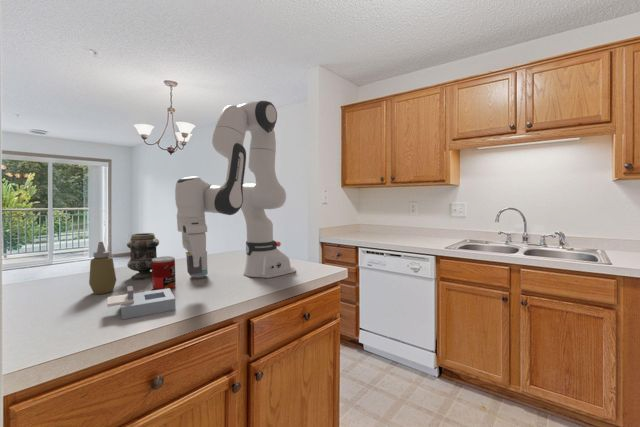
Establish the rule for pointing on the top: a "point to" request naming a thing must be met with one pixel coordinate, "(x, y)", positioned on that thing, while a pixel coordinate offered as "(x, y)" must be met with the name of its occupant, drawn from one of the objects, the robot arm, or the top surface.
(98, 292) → the squeeze bottle
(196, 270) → the plug
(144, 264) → the apothecary jar
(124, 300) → the panel
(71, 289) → the top surface
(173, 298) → the socket block
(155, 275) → the canned food
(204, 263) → the beverage can
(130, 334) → the top surface
